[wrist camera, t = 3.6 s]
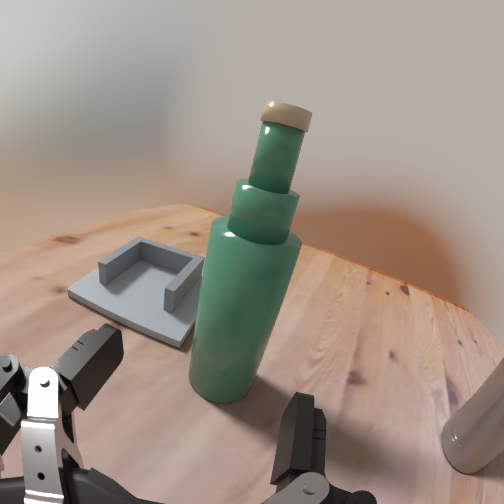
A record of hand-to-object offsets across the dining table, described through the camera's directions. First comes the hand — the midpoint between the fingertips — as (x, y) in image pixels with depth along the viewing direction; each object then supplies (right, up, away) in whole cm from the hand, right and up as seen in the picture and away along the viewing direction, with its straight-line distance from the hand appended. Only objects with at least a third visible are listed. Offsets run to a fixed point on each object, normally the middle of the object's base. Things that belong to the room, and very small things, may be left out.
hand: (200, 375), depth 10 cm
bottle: (-1, -7, +13) cm, 15 cm away
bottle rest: (-11, +1, +23) cm, 26 cm away
